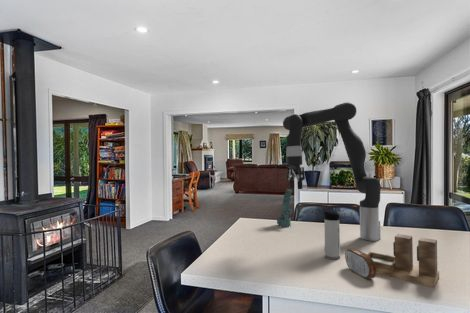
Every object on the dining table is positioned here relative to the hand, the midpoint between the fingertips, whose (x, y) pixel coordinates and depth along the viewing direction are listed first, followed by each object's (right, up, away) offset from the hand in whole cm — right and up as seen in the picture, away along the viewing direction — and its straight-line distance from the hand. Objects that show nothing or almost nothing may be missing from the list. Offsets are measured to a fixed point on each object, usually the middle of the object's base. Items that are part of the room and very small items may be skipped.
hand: (295, 188), depth 138 cm
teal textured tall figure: (+2, -30, +43) cm, 52 cm away
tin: (+17, -29, -33) cm, 47 cm away
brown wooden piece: (+32, -28, -32) cm, 53 cm away
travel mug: (+13, -29, -15) cm, 35 cm away
